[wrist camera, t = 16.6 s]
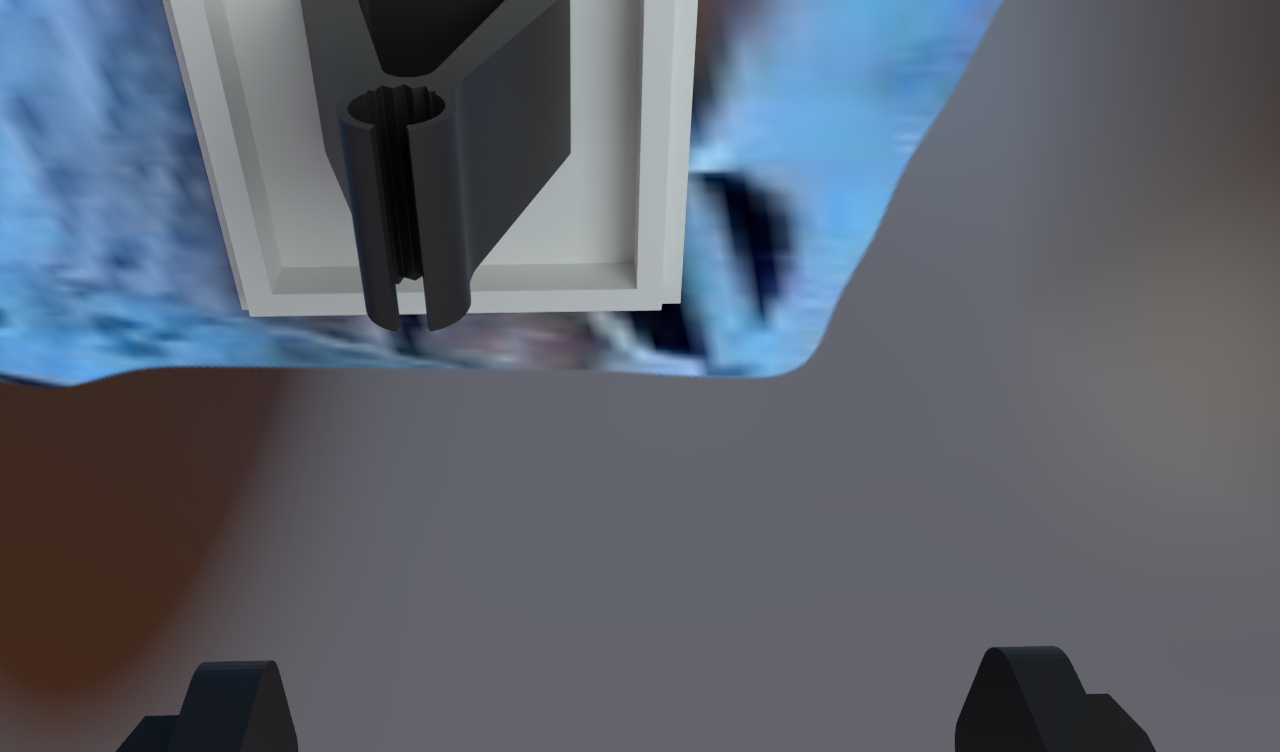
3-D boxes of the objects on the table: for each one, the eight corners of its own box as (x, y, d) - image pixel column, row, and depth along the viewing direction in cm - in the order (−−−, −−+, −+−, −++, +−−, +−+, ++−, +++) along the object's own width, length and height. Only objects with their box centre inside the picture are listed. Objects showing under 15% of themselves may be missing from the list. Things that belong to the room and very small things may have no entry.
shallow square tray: (249, 294, 42) (229, 338, 40) (107, -273, 30) (66, -262, 27) (677, 288, 43) (685, 330, 41) (707, -260, 31) (721, -248, 29)
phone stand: (325, 146, 37) (246, 332, 28) (300, -22, 34) (198, 125, 24) (570, 149, 38) (574, 332, 28) (571, -15, 34) (576, 131, 25)
